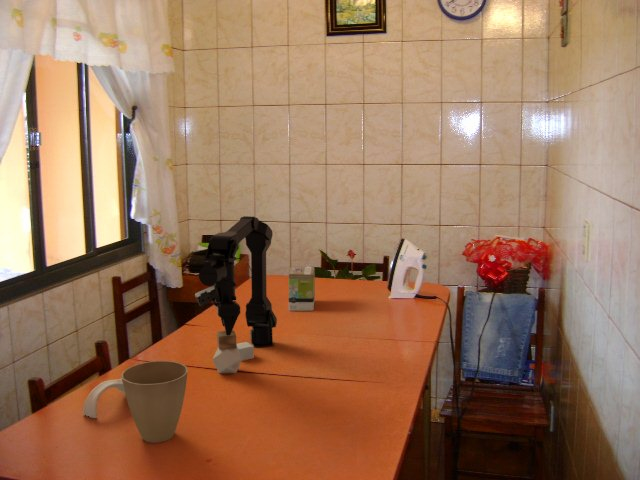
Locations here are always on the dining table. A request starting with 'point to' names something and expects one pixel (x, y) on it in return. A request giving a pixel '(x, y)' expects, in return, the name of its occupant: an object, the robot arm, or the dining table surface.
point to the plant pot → (155, 397)
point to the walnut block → (226, 340)
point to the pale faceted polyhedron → (227, 360)
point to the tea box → (301, 288)
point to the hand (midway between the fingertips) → (226, 330)
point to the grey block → (246, 350)
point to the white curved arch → (94, 395)
